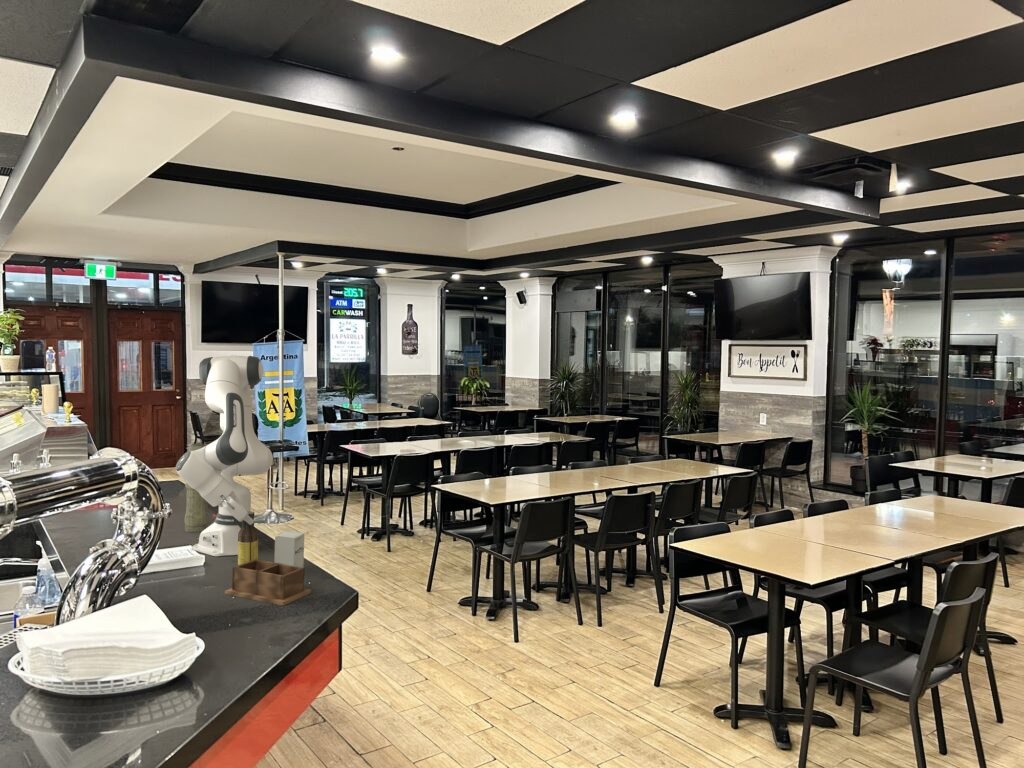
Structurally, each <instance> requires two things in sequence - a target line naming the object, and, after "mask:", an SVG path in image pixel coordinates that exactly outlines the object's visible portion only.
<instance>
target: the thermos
mask: <svg viewBox="0 0 1024 768" xmlns="http://www.w3.org/2000/svg"><path fill="white" fill-rule="evenodd" d="M205 446H207V444H205V443H201V442H200V443H199V442H198V443H191V444H190V445H189V447H188V450H187V452H188V451H195V450H198V449H201V448H203V447H205ZM184 483H185V485H184V487H185V489H186V496H185V497H186V498H185V499H186V500H185V501H186V502H185V505H186V508H185V514H184V523H183V524H184V532H186V533H189V534H198V533H200V534H201V532H202V531H203V530H205V529H206V528H207V527H209V524H210V523H209V522H210V521H209V520H210V518H209V517H210V516H209V514H208V513H209V512H208V504H209V503H208V502H207V501H206V500H205V499H204V498H203V497H201V495H200V494H199V492H198V491H196V490H195V489H193V488H191V487H190V486H189V485H188V484H187V483H186V482H184Z"/></svg>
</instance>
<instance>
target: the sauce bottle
mask: <svg viewBox="0 0 1024 768" xmlns="http://www.w3.org/2000/svg"><path fill="white" fill-rule="evenodd" d="M247 512H248V515H249V516H250V517H251V518H252V519H253V520H254V519H255V512H254V511H252V510H251V511H247ZM254 521H255V520H254ZM258 537H259V536H258V530H257V529H256V527H255V523H252V524H251V525H249V524H248V523H247V522H246V521H244V520H243V521H242V528H241V529H240V531H239V533H238V555H237V566H238V565H241V564H243V563H246V562H249V561H252V560H255V559H257V560H259V538H258Z"/></svg>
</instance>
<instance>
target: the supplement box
mask: <svg viewBox="0 0 1024 768" xmlns="http://www.w3.org/2000/svg"><path fill="white" fill-rule="evenodd" d="M304 554H305V532H298V531H297V532H296V531H283V532H282V533H280V534H277V535H275V537H274V560H273V561H274V563H279V564H285V565H290V566H296V567H301V568H304V563H305V562H304V560H305V557H304V556H305V555H304Z"/></svg>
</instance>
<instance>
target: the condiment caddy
mask: <svg viewBox="0 0 1024 768" xmlns="http://www.w3.org/2000/svg"><path fill="white" fill-rule="evenodd" d="M231 577H232V579H231V580H232V582H231V584H232V585H231V588H228V589H225V590H224V594H225V595H229V596H233V597H239V598H243V599H249V600H253V601H258V602H263V603H267V604H268V603H269V604H272V603H273V604H272V605H278V606H281V605H283V606H286V605H289V604H290V603H292V602H295V601H296V600H298V599H302V598H303V597H304V596H307V595H309V594H311V593H312V590H311V589H309V588H305V567H303V568H301V567H296V566H290V565H285V564H279V563H274V562H272V561H269V560H268V561H266V560H261V559H258V560H257V559H255V560H252V561H249V562H246V563H243V564H241V565H238V564H237V565H235V566H233V567H232V576H231ZM283 606H282V607H283Z"/></svg>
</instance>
